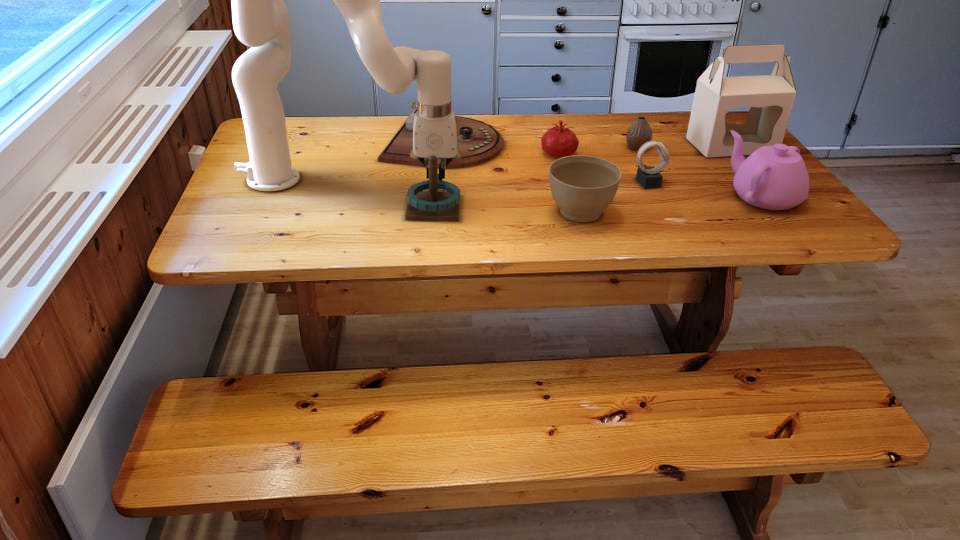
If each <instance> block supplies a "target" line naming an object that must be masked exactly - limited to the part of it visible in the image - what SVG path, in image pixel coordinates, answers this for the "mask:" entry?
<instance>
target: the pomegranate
mask: <svg viewBox="0 0 960 540" xmlns="http://www.w3.org/2000/svg"><path fill="white" fill-rule="evenodd" d="M558 123H559V125H558V124H557V123H551V124H552V125H553V127H550V128H548V129H546V130H547V131H546V132H544V133H543V135H542V136H541V139H540V141H541V149H542V152H543V153H544V154H546V155H548V156H550V157H553V158H556V159H559V158H562V157H566V156H573V155H574V154H575V153H576V152H577V151H578V148H579V145H580V141H579V138H578V137H577V135H576V133H575V132H574V131H573V130H572V129H575V127H574V126H568V124H567V123H564V121H563V120H561V119H560V120H559V121H558ZM565 126H566V127H565ZM567 126H568V127H567ZM571 128H572V129H571Z"/></svg>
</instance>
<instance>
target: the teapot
mask: <svg viewBox="0 0 960 540" xmlns="http://www.w3.org/2000/svg"><path fill="white" fill-rule="evenodd" d="M730 132H731V133H732V135H733V137H734V149H733V153H732V156H730V157H731V158H730V167H731V171H732V172H733V174H734V176H733V180H732V185H733V188H734V190H735V192H736V194H737V195H738V196H739V198H740V199H741V200H743V201H744V202H746V203H747V204H750V205H751V206H754V207H757V208H760V209H765V210H770V211H785V210H786V211H787V210H790V209H794V208H795V207H796V206H798V205H800V204H802V203H803V202H804V201H806V199H807V198H808V196H809V191H810V177H809V171H808V169H807V166H806V163H805V160H804V159H803V156H802V155H801V154H800V153H801V151H800V149H799V147H797V146H795V145H790V146H789V145H787V144H785V143H782V144H774V146H763V147H760V148H758V149H757V150H756V151H754V152H753V153H752V154H751V155H748V157H747V158H745V155H743V140H742V137H741V136H740V135H739V134H738V133H737V132H735V131H734V130H730Z"/></svg>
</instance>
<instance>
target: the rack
mask: <svg viewBox="0 0 960 540" xmlns="http://www.w3.org/2000/svg"><path fill="white" fill-rule="evenodd" d="M428 162H429V179H428V180H429V189H428V190H423V191H421V192H418V193H417V194H416V195H415V196H416V197H417V198H419V199H420V200H424V201H428V202H438V201H444V200H446V199H449V198H451V196H452V194H451V193H449V192H448V191H445V190H439V189H438V173H439V168H438V165H437V157H436V156H435V155H431V156H430V157H429V159H428ZM460 205H461V201H460V202H459V203H458V204H457V205H455V207H452V208H450V209H447V210H442V211H438V210H437V211H424V210H420V209H418V208H415V207H413V206H411V205H410V204H409V202H408V201H407V205H406V210H405V214H404V217H405V219H404V220H405V221H433V222H460Z"/></svg>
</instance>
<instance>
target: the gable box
mask: <svg viewBox="0 0 960 540" xmlns="http://www.w3.org/2000/svg"><path fill="white" fill-rule="evenodd" d="M791 57H792V56H791V55H786V54H785V45H784V44H783V43H766V44H765V43H763V44H740V45H739V44H737V45H735V44H734V45H728V46H726V47H725V48H722V56H718V57H716V58H714V59H713V61H712V63H711V64H710V65H709V66H708V67H707V68H706V69H705V70H704V71H703V72H702V74H701V75H699V77H698V78H697V80H696V86H695V90H694V95H693V100H692V105H691V111H690V116H689V121H688V125H687V131H686V135H685V139H686V140H687V141H688V142H689V143H690V144H691V145H692V146H694V148H696V149H697V150H698V151H699V152H700V153H701V154H702V155H703V156H704V157H705V158H707V159H710V158H711V159H712V158H724V157H725V158H726V157H732V153H733V149H734V137H733V135H732V133H731V132H730V130H734V131H735V132H737V133H738V134H739V135H740V136H741V137H742V140H743V156H750V155H751V154H752V153H753V152H754V151H756V150H757V149H758V148H760V147H763V146H774V144H783V141H784V138H785V135H786V131H787V128H788V124H789V121H790V117H791V114H792V110H793V106H794V104H795V99H796V95H797V87H796V83H795V80H794V77H793V73H792V68H791V65H790V63H791ZM750 63H775V65H774V67H773V69H772V72H771V74H765V75H764V74H763V75H760V74H759V75H739V76H724V73H725V68H726V67H725V66H726V65H730V64H750ZM737 107H750V108H749V110H748V116H747V119H746V122H745V123H742V124H736V123H733V122H726V114H727V112H728V111H729V110H730V109H731V110H732V109H733V108H737Z"/></svg>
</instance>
